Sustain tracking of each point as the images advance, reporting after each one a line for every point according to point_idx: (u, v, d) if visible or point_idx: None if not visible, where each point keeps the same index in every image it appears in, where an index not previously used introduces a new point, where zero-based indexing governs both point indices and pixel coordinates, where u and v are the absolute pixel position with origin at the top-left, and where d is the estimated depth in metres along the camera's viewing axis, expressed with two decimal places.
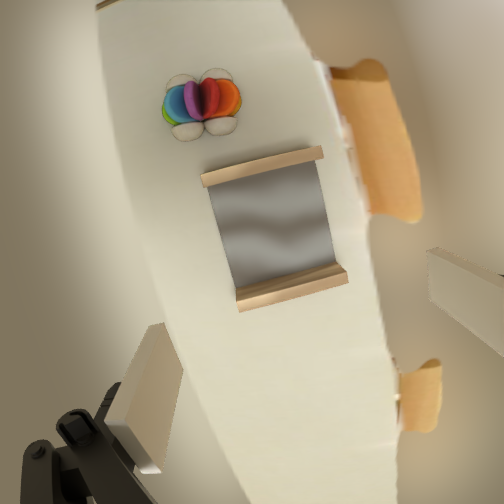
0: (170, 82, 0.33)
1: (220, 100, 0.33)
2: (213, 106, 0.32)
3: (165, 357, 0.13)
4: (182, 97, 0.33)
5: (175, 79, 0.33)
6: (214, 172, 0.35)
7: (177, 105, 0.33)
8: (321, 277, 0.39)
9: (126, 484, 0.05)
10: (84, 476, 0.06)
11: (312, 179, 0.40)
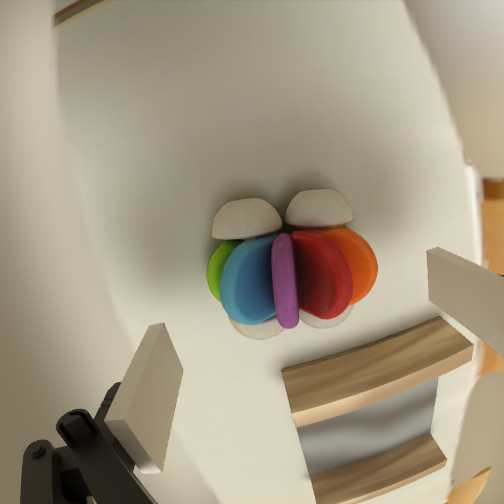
0: (224, 224, 0.17)
1: None
2: (336, 315, 0.15)
3: (165, 357, 0.13)
4: (258, 272, 0.16)
5: (237, 219, 0.17)
6: (316, 408, 0.18)
7: (250, 297, 0.16)
8: (419, 469, 0.23)
9: (126, 484, 0.05)
10: (84, 476, 0.06)
11: None
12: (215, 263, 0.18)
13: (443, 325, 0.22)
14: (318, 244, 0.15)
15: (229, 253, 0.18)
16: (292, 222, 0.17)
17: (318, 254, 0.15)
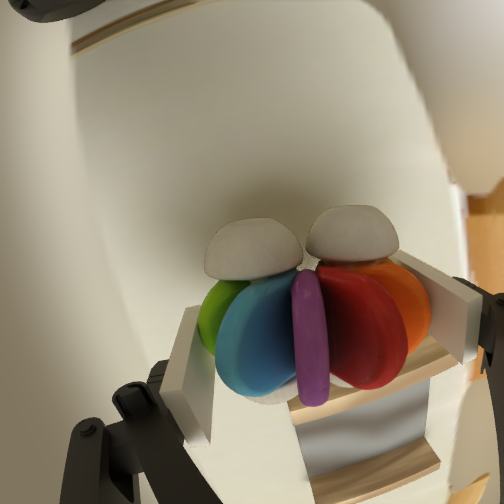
0: (222, 258, 0.12)
1: None
2: None
3: None
4: (271, 329, 0.11)
5: (240, 252, 0.11)
6: (312, 407, 0.20)
7: (259, 364, 0.11)
8: (413, 471, 0.24)
9: (178, 458, 0.06)
10: (136, 448, 0.07)
11: None
12: (209, 311, 0.13)
13: None
14: (361, 292, 0.10)
15: (229, 297, 0.12)
16: (318, 253, 0.12)
17: (361, 306, 0.10)
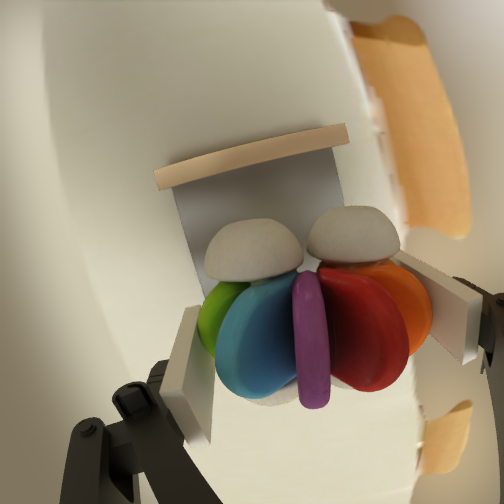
0: (222, 259, 0.11)
1: None
2: None
3: None
4: (271, 331, 0.11)
5: (240, 253, 0.11)
6: (175, 166, 0.21)
7: (259, 366, 0.11)
8: None
9: (178, 458, 0.06)
10: (136, 448, 0.07)
11: (328, 176, 0.27)
12: (209, 312, 0.12)
13: None
14: (362, 293, 0.10)
15: (229, 299, 0.12)
16: (319, 255, 0.12)
17: (362, 308, 0.10)
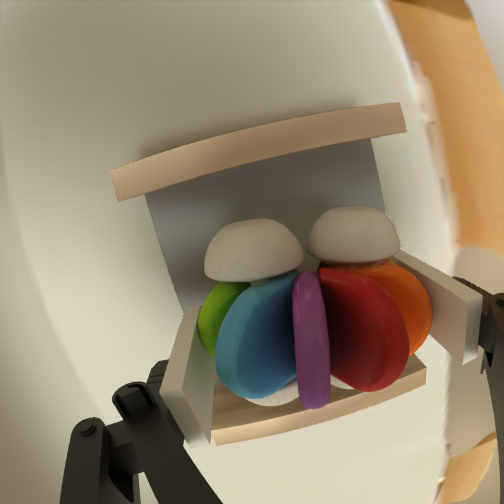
0: (222, 259, 0.11)
1: None
2: None
3: None
4: (271, 331, 0.11)
5: (240, 254, 0.11)
6: (142, 163, 0.13)
7: (259, 366, 0.11)
8: None
9: (178, 458, 0.06)
10: (136, 448, 0.07)
11: (366, 179, 0.18)
12: (209, 312, 0.12)
13: None
14: (362, 294, 0.10)
15: (229, 299, 0.12)
16: (319, 255, 0.12)
17: (362, 308, 0.10)
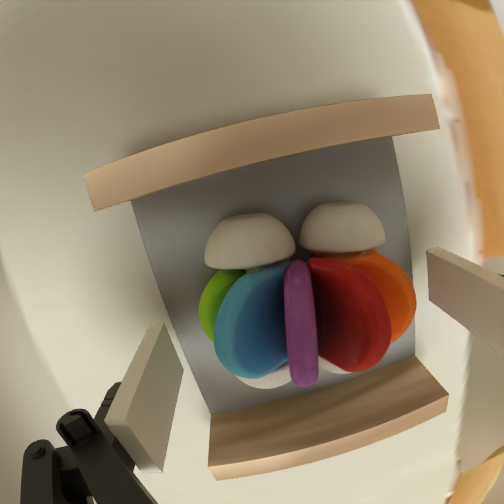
0: (220, 249, 0.13)
1: None
2: None
3: (165, 357, 0.13)
4: (265, 314, 0.12)
5: (237, 244, 0.12)
6: (122, 164, 0.10)
7: (254, 346, 0.12)
8: (398, 411, 0.15)
9: (126, 484, 0.05)
10: (84, 476, 0.06)
11: (386, 183, 0.16)
12: (209, 299, 0.14)
13: None
14: (347, 279, 0.11)
15: (227, 286, 0.14)
16: (309, 246, 0.13)
17: (347, 292, 0.11)
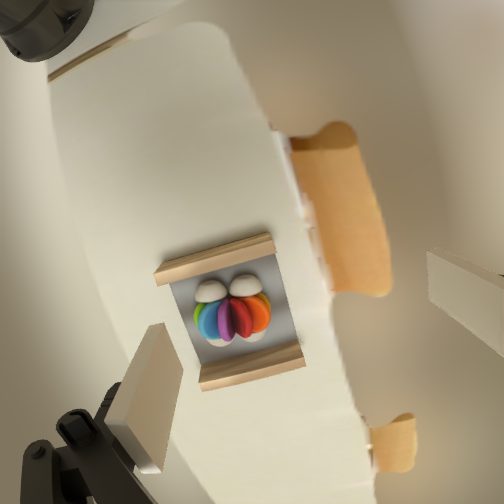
0: (199, 295, 0.37)
1: (252, 319, 0.37)
2: (247, 336, 0.35)
3: (165, 357, 0.13)
4: (214, 317, 0.37)
5: (205, 294, 0.37)
6: (166, 272, 0.35)
7: (211, 327, 0.36)
8: (279, 362, 0.39)
9: (126, 484, 0.05)
10: (84, 476, 0.06)
11: (270, 264, 0.40)
12: (197, 312, 0.38)
13: (265, 235, 0.39)
14: (237, 306, 0.35)
15: (203, 307, 0.38)
16: (231, 293, 0.38)
17: (238, 310, 0.35)
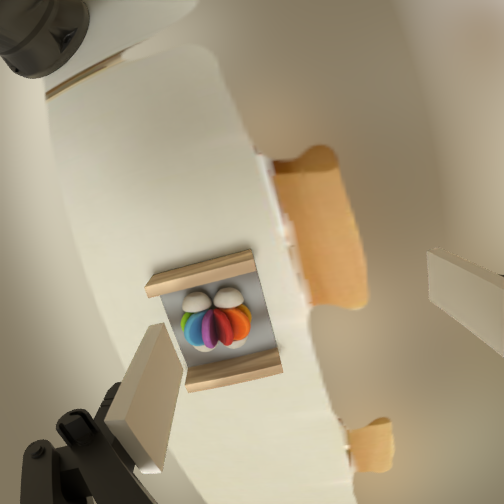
0: (186, 306, 0.40)
1: (233, 329, 0.41)
2: (228, 345, 0.39)
3: (165, 357, 0.13)
4: (199, 326, 0.40)
5: (191, 305, 0.40)
6: (156, 285, 0.38)
7: (196, 335, 0.40)
8: (258, 368, 0.43)
9: (126, 484, 0.05)
10: (84, 476, 0.06)
11: (252, 278, 0.44)
12: (183, 320, 0.41)
13: (247, 252, 0.42)
14: (220, 317, 0.39)
15: (189, 316, 0.41)
16: (214, 304, 0.41)
17: (220, 321, 0.39)
